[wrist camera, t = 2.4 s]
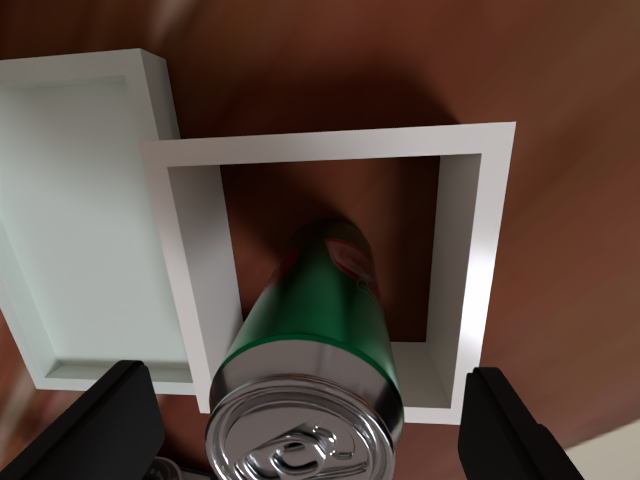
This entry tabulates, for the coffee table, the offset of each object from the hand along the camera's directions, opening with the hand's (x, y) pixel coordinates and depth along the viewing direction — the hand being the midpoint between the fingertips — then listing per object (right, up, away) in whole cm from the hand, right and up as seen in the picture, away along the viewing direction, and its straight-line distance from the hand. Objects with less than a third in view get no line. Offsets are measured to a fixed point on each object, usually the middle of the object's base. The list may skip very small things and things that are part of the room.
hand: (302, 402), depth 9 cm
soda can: (+1, +4, +9) cm, 10 cm away
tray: (-13, +4, +10) cm, 17 cm away
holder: (+1, +4, +9) cm, 10 cm away
